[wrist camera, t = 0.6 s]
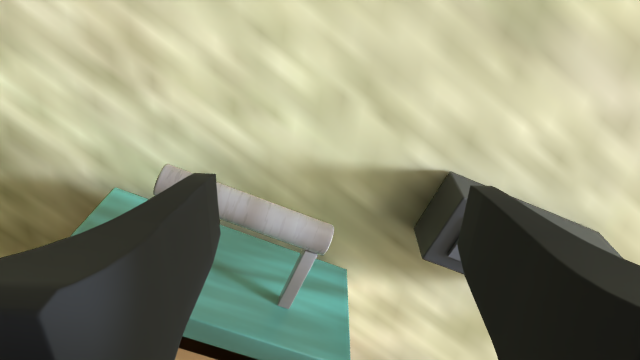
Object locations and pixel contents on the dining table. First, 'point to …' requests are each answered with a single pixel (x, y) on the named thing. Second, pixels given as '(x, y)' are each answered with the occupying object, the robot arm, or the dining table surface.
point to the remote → (447, 215)
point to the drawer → (258, 281)
